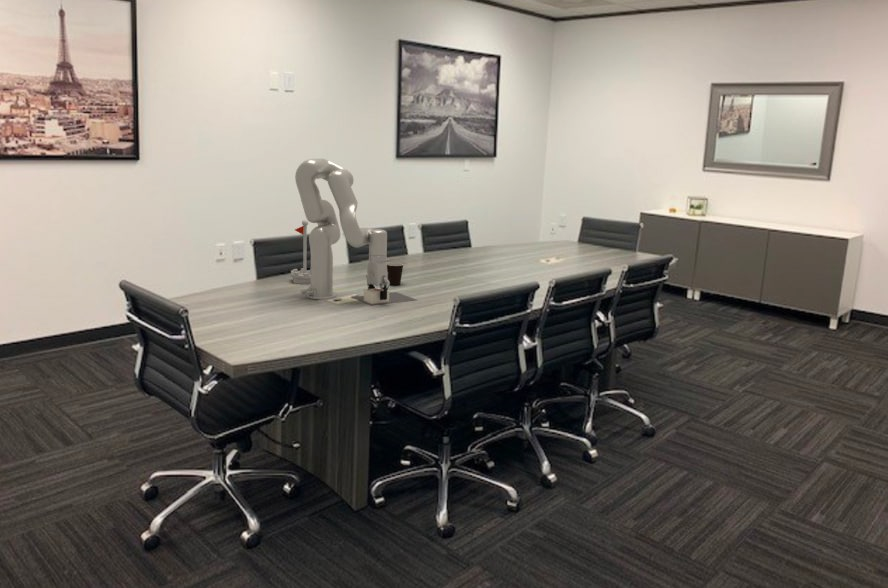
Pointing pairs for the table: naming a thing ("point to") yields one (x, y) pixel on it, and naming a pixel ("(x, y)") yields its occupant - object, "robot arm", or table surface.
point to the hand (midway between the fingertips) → (377, 297)
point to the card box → (374, 296)
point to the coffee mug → (394, 273)
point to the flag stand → (303, 275)
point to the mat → (393, 298)
